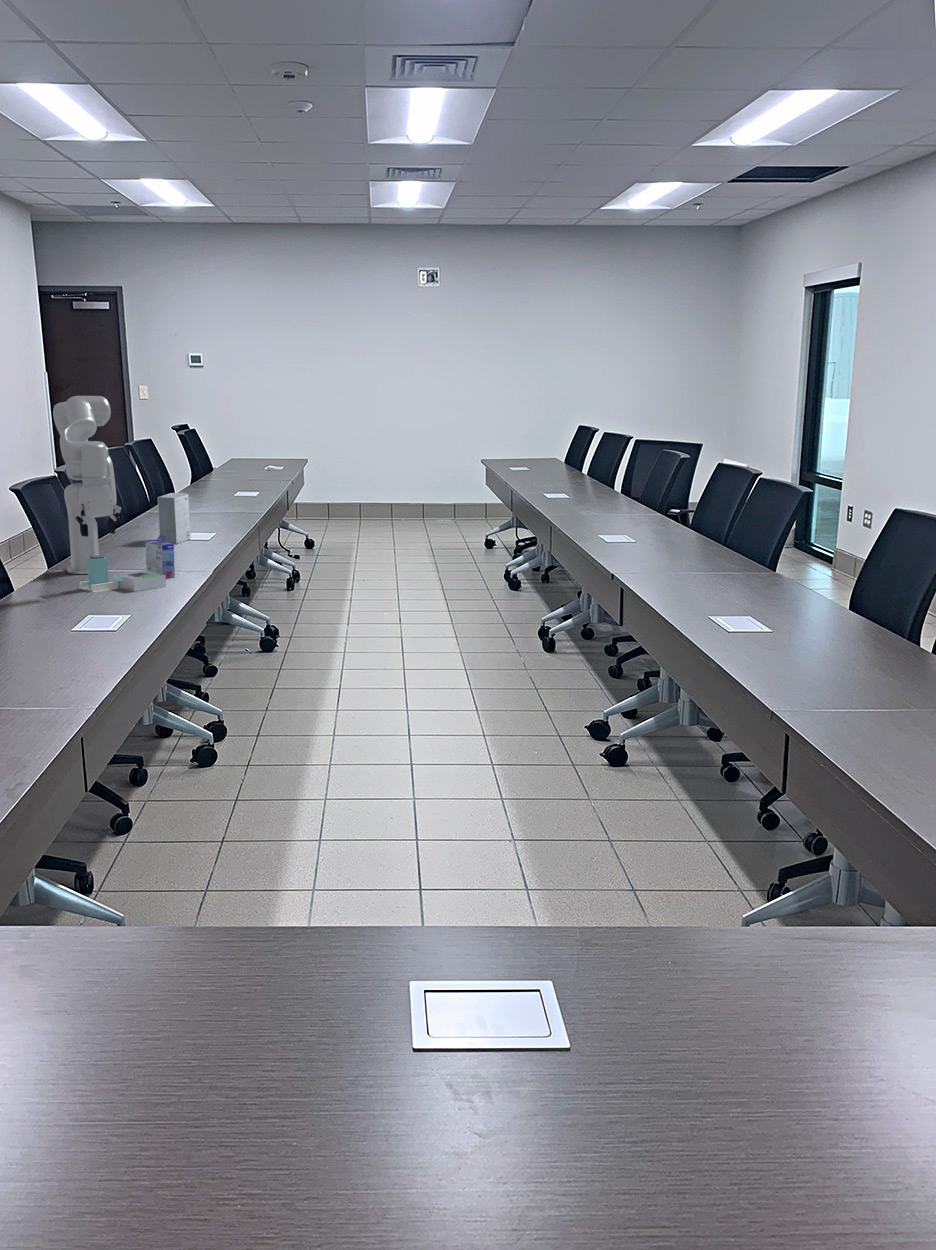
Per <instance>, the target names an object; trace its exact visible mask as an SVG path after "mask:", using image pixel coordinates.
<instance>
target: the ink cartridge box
mask: <svg viewBox="0 0 936 1250" xmlns="http://www.w3.org/2000/svg"><path fill="white" fill-rule="evenodd" d="M161 537H162V538H164V539H163V540H161V539H160V538H161ZM165 538H166V536H162V535H160V534H159V535H158V537H157V540H152V541H151V540H150V541H146V542H145V563H146V564H145V565H146V566H145V567H146V568H145V570H147V571H151V572H155V573H160V574H164V575H165V576H166V579H169V578H168V577H172V578H175V577H174V576H175V575H176V573H175V572H176V571H175V570H176V569H175V544H173V543H167V542H164V540H165Z"/></svg>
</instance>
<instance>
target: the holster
mask: <svg viewBox="0 0 936 1250" xmlns="http://www.w3.org/2000/svg"><path fill="white" fill-rule="evenodd" d="M90 586H91V588H89V582H88V580H85V581H79V587H78V589H82V590H84V591H88V592H93V593H98V592H105V591H113V590H118V589H120V588H118V585H117V582H116V581H115V582H114V581H110V582H109V581H108V583H101V584H94V585H90Z"/></svg>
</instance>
